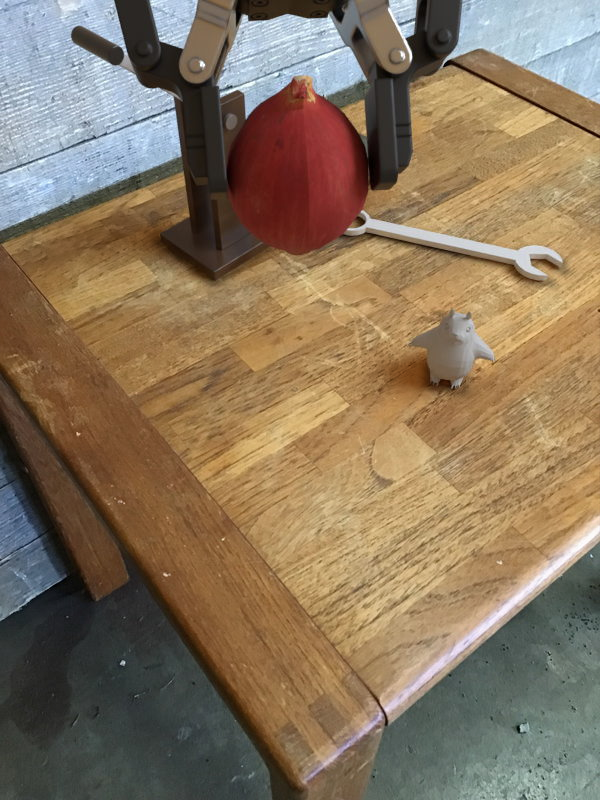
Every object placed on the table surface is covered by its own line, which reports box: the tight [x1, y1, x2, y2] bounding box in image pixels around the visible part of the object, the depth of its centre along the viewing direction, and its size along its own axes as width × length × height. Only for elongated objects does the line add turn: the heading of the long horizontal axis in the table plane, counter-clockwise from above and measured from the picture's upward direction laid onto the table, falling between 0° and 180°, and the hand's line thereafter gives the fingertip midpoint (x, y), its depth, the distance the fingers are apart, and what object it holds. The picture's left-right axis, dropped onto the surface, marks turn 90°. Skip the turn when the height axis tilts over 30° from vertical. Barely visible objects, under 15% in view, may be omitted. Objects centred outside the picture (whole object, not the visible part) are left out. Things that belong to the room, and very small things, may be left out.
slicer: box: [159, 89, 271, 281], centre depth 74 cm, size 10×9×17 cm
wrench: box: [343, 209, 564, 281], centre depth 79 cm, size 25×1×5 cm
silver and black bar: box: [70, 25, 182, 101], centre depth 63 cm, size 16×5×2 cm
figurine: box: [407, 308, 497, 390], centre depth 65 cm, size 8×6×8 cm
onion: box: [226, 74, 370, 257], centre depth 30 cm, size 6×6×8 cm
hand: (302, 189), depth 28 cm, fingers closed on onion, 5 cm apart
